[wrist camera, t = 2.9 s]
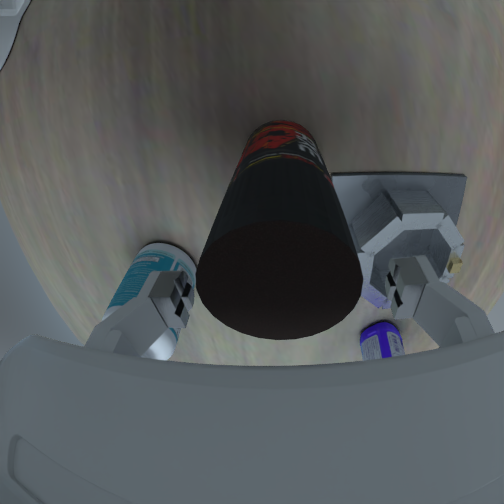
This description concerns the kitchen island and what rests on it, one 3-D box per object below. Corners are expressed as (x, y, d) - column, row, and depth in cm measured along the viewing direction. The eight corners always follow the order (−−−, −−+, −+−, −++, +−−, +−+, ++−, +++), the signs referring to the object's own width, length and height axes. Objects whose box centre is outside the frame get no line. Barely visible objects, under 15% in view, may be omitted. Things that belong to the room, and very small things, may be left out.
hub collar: (331, 173, 21) (343, 204, 17) (463, 174, 19) (494, 201, 15) (329, 290, 30) (334, 328, 26) (435, 280, 27) (450, 313, 23)
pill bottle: (131, 267, 31) (83, 359, 21) (151, 227, 27) (89, 332, 16) (183, 297, 33) (150, 393, 23) (211, 263, 29) (177, 377, 19)
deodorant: (327, 132, 19) (394, 248, 8) (305, 194, 23) (322, 348, 11) (254, 112, 19) (204, 198, 7) (239, 177, 23) (190, 322, 11)
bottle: (351, 331, 35) (363, 452, 21) (386, 313, 32) (411, 439, 18) (372, 349, 37) (385, 453, 24) (404, 334, 35) (425, 441, 21)
